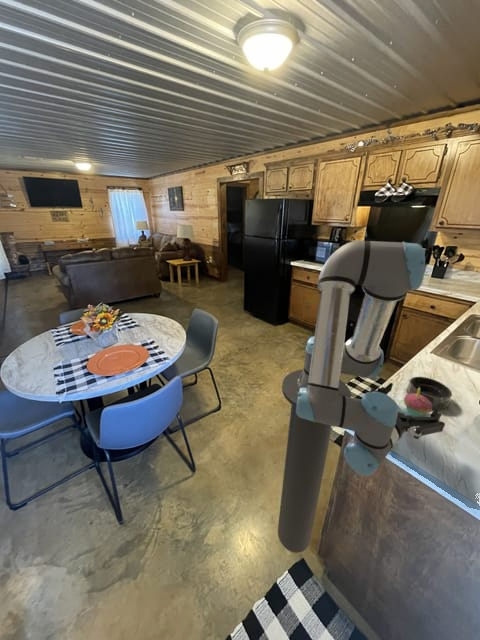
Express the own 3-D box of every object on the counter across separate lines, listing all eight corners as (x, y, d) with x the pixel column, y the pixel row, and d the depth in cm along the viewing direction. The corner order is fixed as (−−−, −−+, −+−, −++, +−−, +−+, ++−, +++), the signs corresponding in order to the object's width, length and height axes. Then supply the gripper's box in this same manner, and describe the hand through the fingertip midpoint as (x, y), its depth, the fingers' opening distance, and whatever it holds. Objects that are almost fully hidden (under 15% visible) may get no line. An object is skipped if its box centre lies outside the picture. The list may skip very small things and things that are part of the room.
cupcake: (417, 424, 89) (427, 396, 85) (395, 408, 97) (403, 381, 92) (433, 417, 92) (444, 389, 88) (411, 402, 100) (420, 376, 95)
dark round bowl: (401, 396, 103) (404, 385, 101) (413, 382, 111) (416, 372, 109) (441, 415, 94) (445, 404, 92) (451, 399, 101) (456, 388, 100)
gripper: (340, 414, 81) (371, 387, 94) (433, 472, 64) (457, 428, 76) (344, 395, 78) (376, 369, 91) (443, 450, 61) (466, 408, 73)
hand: (413, 396), depth 84 cm, fingers open, 13 cm apart
